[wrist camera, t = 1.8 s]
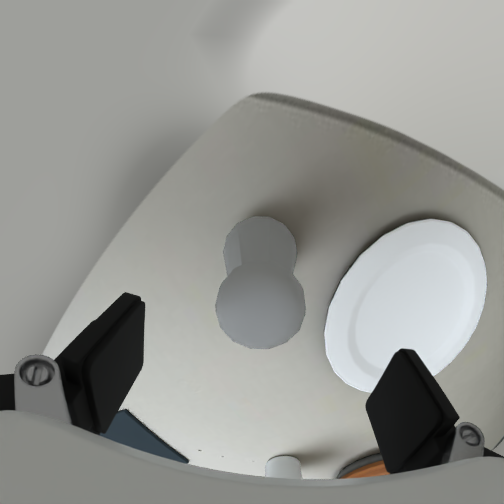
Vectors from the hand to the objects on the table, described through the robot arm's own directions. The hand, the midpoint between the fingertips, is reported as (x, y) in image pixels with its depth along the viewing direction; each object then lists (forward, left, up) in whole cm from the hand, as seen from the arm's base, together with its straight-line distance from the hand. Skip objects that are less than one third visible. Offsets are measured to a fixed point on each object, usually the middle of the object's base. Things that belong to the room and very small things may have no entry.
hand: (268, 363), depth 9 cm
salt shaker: (0, 0, -16) cm, 16 cm away
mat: (+17, -35, -16) cm, 42 cm away
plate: (+15, +10, -16) cm, 24 cm away
